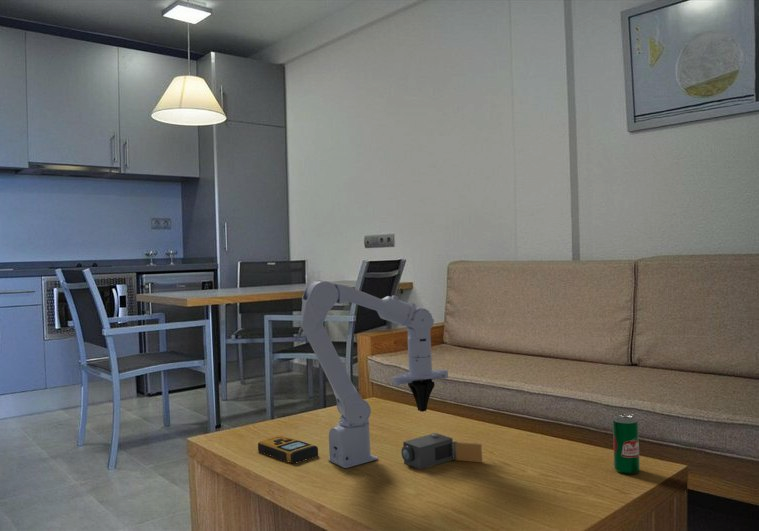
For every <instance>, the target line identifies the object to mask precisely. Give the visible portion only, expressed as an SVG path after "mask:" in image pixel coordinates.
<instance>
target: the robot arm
mask: <svg viewBox="0 0 759 531" xmlns="http://www.w3.org/2000/svg"><path fill="white" fill-rule="evenodd" d="M301 302H302V304H301V310H300V311H301V314H300V327H301V329H302V331H303V333H304V335H305V337H306V338H307V341H308V343H309V344H310V346H311V348H312V350H313V352H314V354H315V357H316V359H317V360H318V363H319V364H320V366H321V369H322V371H323V372H324V374H325V376H326V378H327V380H328V382H329V384H330V385H331V388H332V390H333V394H334V396H335V398H336V399H335V400H336V409H337V411H338V413H339V414H340V415H341V416H340V418H339V420H338V424H337V425H336V426H334V427H332V428H330V430H329V433H328V446H329V447H328V448H329V451H328V452H329V457H328V459H327V460H328V461H329V462H331V463H334V464H335V465H337V466H339V467H342V468H344V469H349V468H352V467H356V466H358V465H363V464H366V463H369V462H373V461H377V460H379V457H378V456H376V455H374V454H371V438H370V437H371V436H370V434H371V433H370V416H371V411H372V410H371V406H370V404H369V402H368V401H366V399H364V398H362V397H361V394H360V392H358V390H357V388H356V386H355V385H354V384H353V382H352V380H351V378H350V376H349V375H348V372H347V370H346V368H345V366H344V364H343V362H342V361H341V358H340V356H339V354H338V352H337V351H336V348H335V346H334V344H333V342H332V340H331V338H330V336H329V335H328V332H327V330H326V327H325V326H324V322H325V320H326V318H327V315H328V313H329V311H330V310H332V308H333V307H334V306H335V305H336V304H339V305H341V304H344V303H352V304H354V305H357V306H360V307H364V308H366V309H370V310H374V311H376V312H377V314H378V316H379V318H380V319H381V320H385V321H387V322H390V323H393V324H396V325H400V326H402V327H406V330H407V354H408V355H407V356H408V372H407V373H403V374H399V375H395V376H394V375H393V376H392V385H394V386H401V385H405V384H407V386H408V388H409V389H410V391H411V393H412V395H413V397H414V400H415V402H416V403H415V404H416V407H417V411H419V412H427V408H428V404H429V401H430V400H429V399H430V396H431V394H432V392H433V389H434V388H435V380H441V379H444V380H445V379H449V372H448V370H447V369H436V370H435V369H434V370H433V363H432V361H433V359H432V337H431V329H432V327H433V326H434V322H435V319H434V318H433V315H432V313H431V312H430V311H429V310H428V309H426V308H422V307H419V306H416V303H413V302H410V303H409V302H406V301H403V300H401V299H399V296H396V295H392V296H390V295H387V296H385V297H383V298H379V297H377V296H374V295H372V294H369V293H367V292H364V291H361V290H358V289H356V288H355V287H351V286H349V285H343V284H338V283H333V282H330V281H323V280H319V279H318V280H317V279H316V280H314V281H311V282H310V283H309V284H308V285H307V286H306V288H305V291H304V292H303V295H302V296H301ZM433 380H434V381H433Z"/></svg>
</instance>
